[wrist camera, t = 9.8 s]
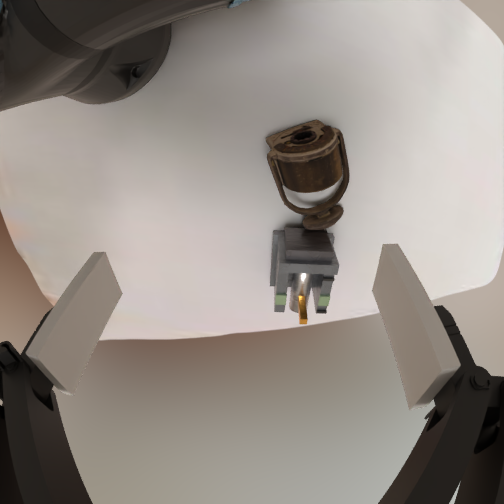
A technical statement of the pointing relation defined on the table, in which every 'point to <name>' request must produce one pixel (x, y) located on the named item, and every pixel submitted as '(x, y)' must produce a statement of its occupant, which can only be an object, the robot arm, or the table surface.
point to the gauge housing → (286, 268)
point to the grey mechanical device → (309, 249)
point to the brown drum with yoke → (310, 168)
